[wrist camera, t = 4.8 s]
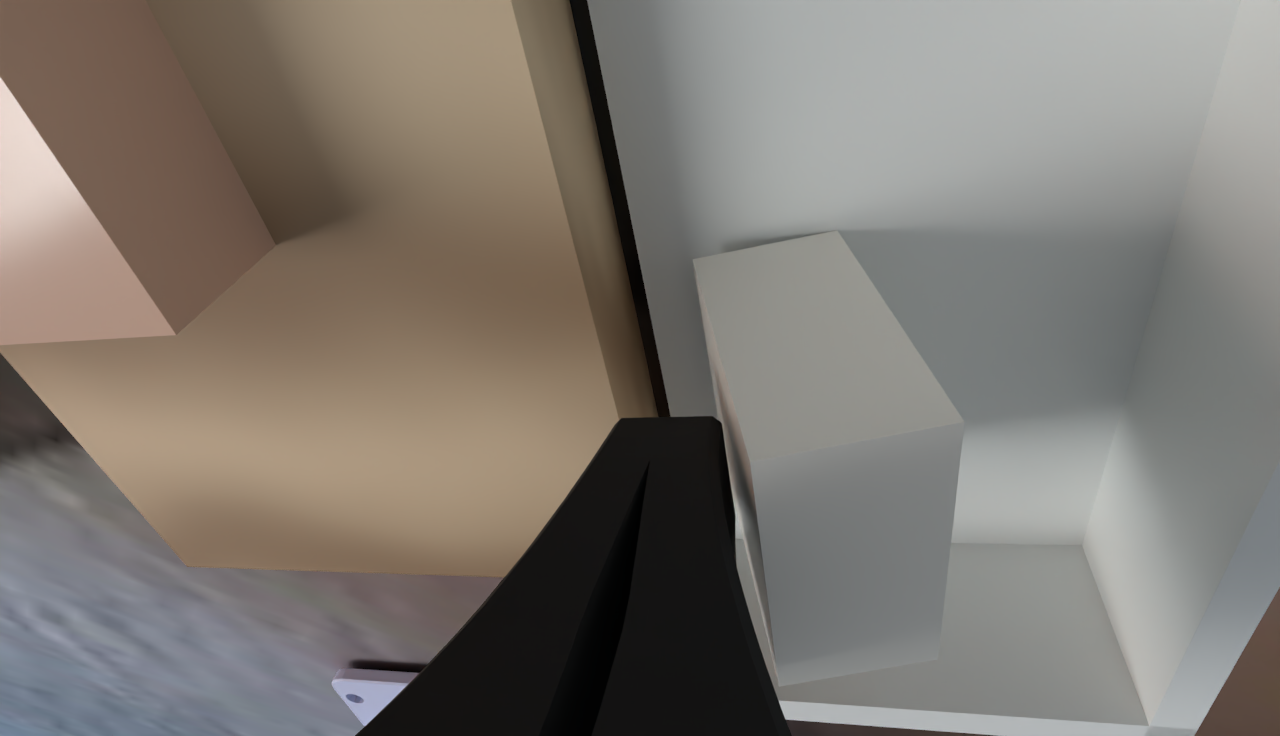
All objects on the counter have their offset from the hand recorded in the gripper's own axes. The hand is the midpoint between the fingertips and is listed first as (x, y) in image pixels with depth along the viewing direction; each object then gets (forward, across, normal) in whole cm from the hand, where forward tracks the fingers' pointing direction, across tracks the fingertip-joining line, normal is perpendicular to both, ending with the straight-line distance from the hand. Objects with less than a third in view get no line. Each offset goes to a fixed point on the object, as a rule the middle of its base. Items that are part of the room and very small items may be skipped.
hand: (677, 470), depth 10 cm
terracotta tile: (+1, +7, -6) cm, 9 cm away
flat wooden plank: (+3, +6, -2) cm, 7 cm away
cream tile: (0, -1, 0) cm, 1 cm away
